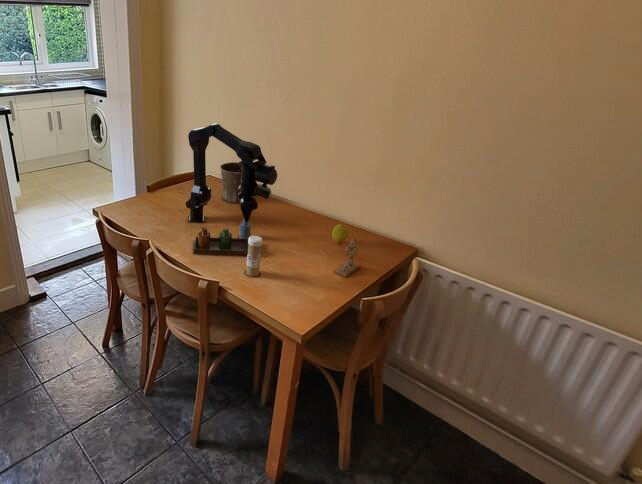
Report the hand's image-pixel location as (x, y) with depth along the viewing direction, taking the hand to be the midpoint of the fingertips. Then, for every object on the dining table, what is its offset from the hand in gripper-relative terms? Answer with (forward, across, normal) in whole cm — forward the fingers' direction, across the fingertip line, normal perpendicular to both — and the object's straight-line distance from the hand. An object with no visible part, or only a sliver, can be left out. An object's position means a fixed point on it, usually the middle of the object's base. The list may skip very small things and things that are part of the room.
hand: (245, 216), depth 160 cm
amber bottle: (+9, -10, +16) cm, 21 cm away
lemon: (+9, -2, -36) cm, 37 cm away
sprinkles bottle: (+9, -27, -1) cm, 29 cm away
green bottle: (+9, -10, +8) cm, 15 cm away
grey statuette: (+9, -22, -34) cm, 42 cm away
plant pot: (+9, +42, +2) cm, 43 cm away
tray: (+9, -10, +8) cm, 16 cm away
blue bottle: (+9, 0, 0) cm, 9 cm away
